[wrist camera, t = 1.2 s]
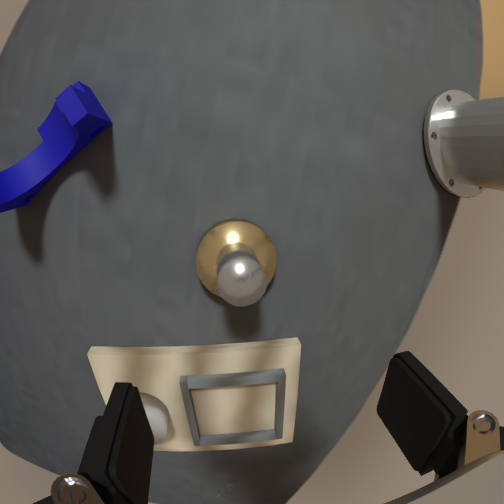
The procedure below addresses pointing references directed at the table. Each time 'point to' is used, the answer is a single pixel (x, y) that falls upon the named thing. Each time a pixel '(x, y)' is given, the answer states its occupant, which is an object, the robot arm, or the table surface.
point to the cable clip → (54, 145)
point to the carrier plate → (209, 391)
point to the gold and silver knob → (236, 261)
